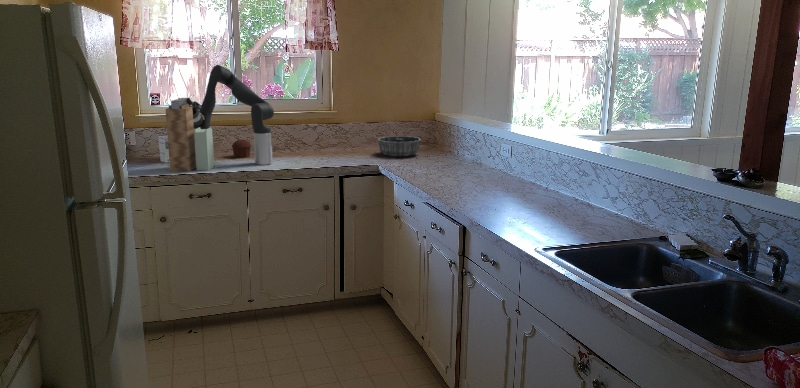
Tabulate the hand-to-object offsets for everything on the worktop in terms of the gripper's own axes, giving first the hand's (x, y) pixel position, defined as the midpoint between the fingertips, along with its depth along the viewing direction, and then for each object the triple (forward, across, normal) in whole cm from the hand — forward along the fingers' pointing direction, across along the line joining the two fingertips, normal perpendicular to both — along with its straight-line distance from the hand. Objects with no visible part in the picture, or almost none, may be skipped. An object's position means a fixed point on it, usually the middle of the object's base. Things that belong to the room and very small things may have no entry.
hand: (183, 99), depth 318 cm
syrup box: (-29, -15, +24) cm, 41 cm away
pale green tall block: (-12, +11, +34) cm, 38 cm away
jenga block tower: (-10, 0, +35) cm, 36 cm away
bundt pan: (-50, +116, +12) cm, 127 cm away
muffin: (-43, +23, +16) cm, 52 cm away
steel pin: (+2, 0, +5) cm, 6 cm away
